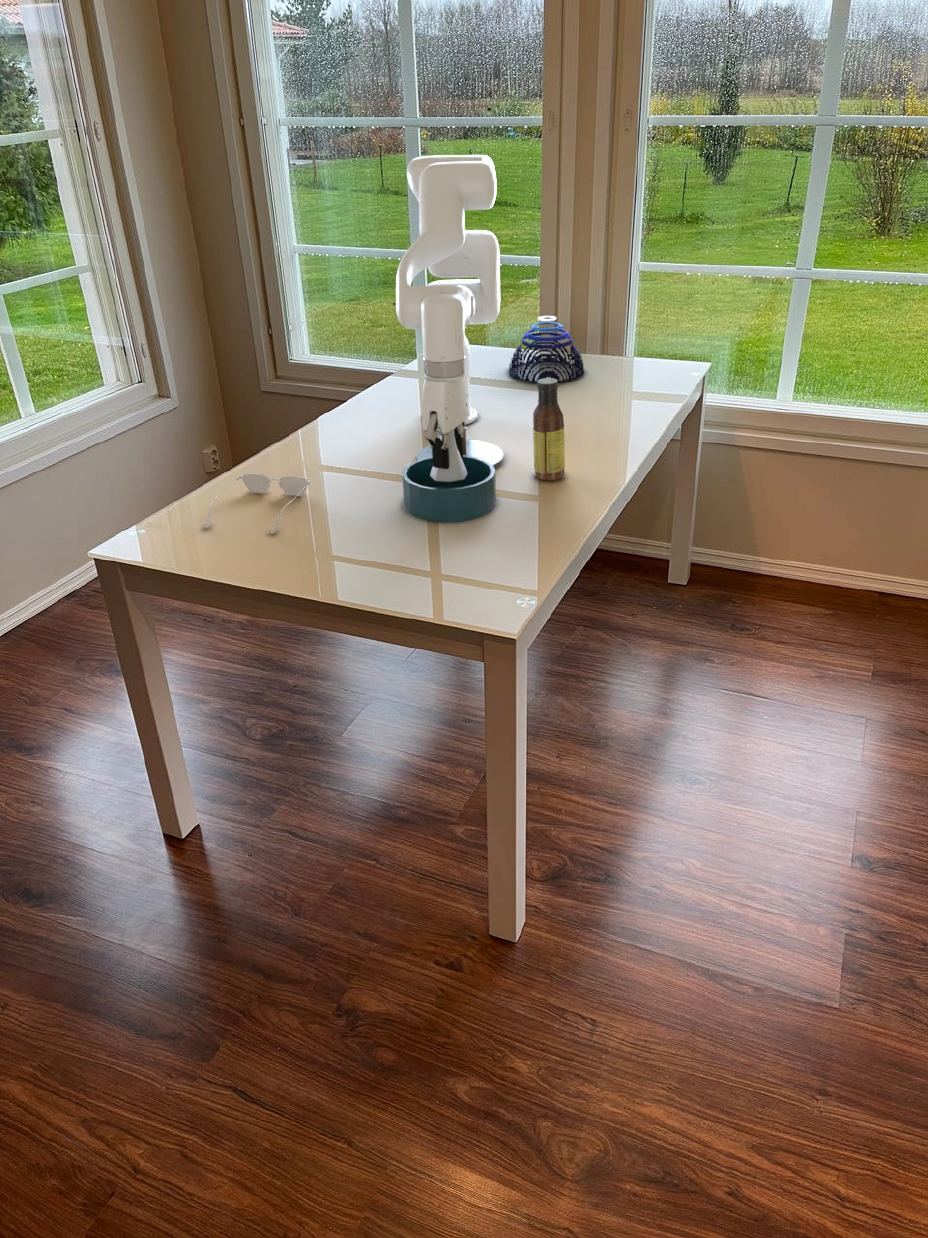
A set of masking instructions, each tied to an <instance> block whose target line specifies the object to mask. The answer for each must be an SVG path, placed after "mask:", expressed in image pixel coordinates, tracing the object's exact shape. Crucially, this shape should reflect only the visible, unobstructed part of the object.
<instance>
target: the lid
mask: <svg viewBox="0 0 928 1238" xmlns="http://www.w3.org/2000/svg"><path fill="white" fill-rule="evenodd" d="M463 431H464V436H463V437H461V438H463V455H466V456H471V457H477V458H480V459H482V460H485V461H487V462H489V463H490V464H491V465H493V467H494V468H495V467H497V466H498V465H500V464H501V463H502V462H503V460H504V457H505V456H504V451H503V449H501V448H500V447H499V446H497V445H495V444H493V443H491V442H487V441H483V440H478V439H477V440H476V439H467V427H466V426H465V425H464V427H463ZM428 457H433V456H432V448H431V444H428V445H426V446H424V447H423V448H421V449H420V450H419V451H418V452H417V453H416V461H417V460H420V459H423V458H428Z"/></svg>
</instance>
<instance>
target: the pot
mask: <svg viewBox="0 0 928 1238" xmlns="http://www.w3.org/2000/svg"><path fill="white" fill-rule="evenodd" d="M462 461H463V463H464V466H465V468H466V470H467V473H468V474H467V475H466V477H465V479H463V480H457V481H452V482H445V481H435V480H434V479H433V478H432V477H431V476H430V474H431V470H432V467H433V457H428V458H423V459H420V460H417V459H416V460H415V461H411V463H410V464H408V465H406V466H405V467H404V468H403V470H402V472H401V475H402V477H401V478H402V493H403V503H404V508H405V510H406V511H407V513H409V514H410V515H412V516H413V517H416V518H418V519H419V520H420V519H421V520H425V521H430V522H435V523H456V522H457V523H458V522H465V521H470V520H474V519H477V518H480V517H482V516H484V515H486V514H488V513H489V512H491V511H492V510H493V509H494V507H495V504H496V499H497V498H496V496H497V494H496V492H497V491H496V490H497V489H496V488H497V487H496V469H495V467H493V465H491V464H490V463H489V462H487V461H485V460H482V459H480V458H477V457H471V456H466V455H463V457H462Z"/></svg>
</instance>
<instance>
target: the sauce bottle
mask: <svg viewBox="0 0 928 1238" xmlns="http://www.w3.org/2000/svg"><path fill="white" fill-rule="evenodd" d="M536 381H537V380H536ZM536 384H537V385H536V388H537V390H538V391H537V392H538V393H537V394H538V397H537V398H538V400H537V404H536V407H535V408H534V410H533V413H532V420H533V421H532V423H533V427H532V437H533V438H532V439H533V443H532V444H533V470H534V475H535V477H536V478H537V479H538V480H542V481H548V482H549V481H556V480H557V481H558V480H560V479H562V478H564V475H565V468H566V463H565V460H566V459H565V456H566V455H565V452H566V451H565V419H564V414H563V412H562V409H561V408H560V405H559V403H558V402H559V401H558V389H559V383H558V380H556V379H553V378H550V377H546V378H544V379H540V380H538V381H537V383H536Z"/></svg>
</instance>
